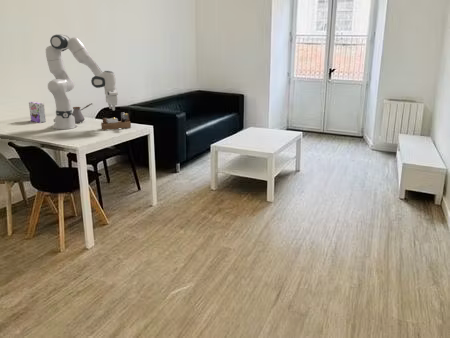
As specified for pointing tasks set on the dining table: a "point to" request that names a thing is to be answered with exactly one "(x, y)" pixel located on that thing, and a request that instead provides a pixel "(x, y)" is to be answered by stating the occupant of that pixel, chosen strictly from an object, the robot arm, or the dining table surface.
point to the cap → (112, 120)
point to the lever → (123, 116)
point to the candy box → (37, 112)
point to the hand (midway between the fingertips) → (111, 109)
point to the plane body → (115, 124)
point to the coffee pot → (78, 114)
